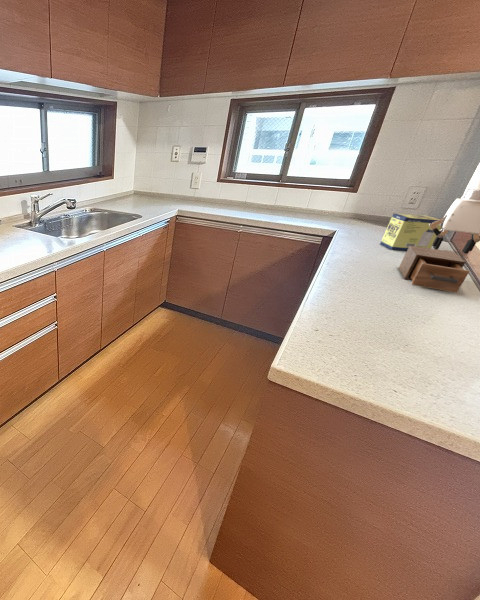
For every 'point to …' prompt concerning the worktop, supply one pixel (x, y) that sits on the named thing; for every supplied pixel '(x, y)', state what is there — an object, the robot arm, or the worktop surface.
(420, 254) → the cabinet
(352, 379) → the worktop surface
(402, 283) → the worktop surface
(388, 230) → the protein box
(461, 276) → the drawer
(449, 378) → the worktop surface
